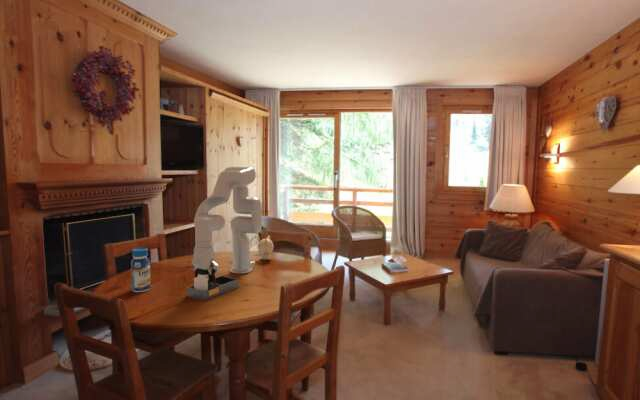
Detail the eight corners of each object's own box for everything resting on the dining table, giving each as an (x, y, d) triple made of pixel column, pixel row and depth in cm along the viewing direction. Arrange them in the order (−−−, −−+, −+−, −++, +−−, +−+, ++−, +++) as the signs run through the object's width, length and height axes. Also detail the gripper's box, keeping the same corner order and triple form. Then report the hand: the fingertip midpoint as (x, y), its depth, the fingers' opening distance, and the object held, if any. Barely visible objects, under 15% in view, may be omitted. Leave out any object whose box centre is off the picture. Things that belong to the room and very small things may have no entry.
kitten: (261, 256, 245) (261, 234, 243) (276, 256, 244) (276, 234, 242) (255, 262, 230) (255, 238, 229) (270, 262, 229) (270, 238, 228)
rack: (222, 283, 188) (222, 275, 188) (238, 287, 182) (238, 279, 182) (186, 296, 169) (186, 287, 169) (204, 301, 163) (204, 292, 163)
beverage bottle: (141, 286, 183) (140, 246, 181) (154, 288, 180) (153, 248, 178) (127, 291, 175) (125, 250, 173) (141, 293, 172) (139, 251, 170)
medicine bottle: (208, 294, 167) (207, 268, 166) (194, 293, 169) (193, 267, 167) (215, 289, 174) (215, 264, 173) (202, 288, 176) (201, 263, 174)
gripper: (184, 243, 170) (185, 279, 172) (210, 247, 161) (211, 285, 163) (197, 240, 177) (198, 275, 178) (223, 244, 168) (224, 281, 169)
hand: (204, 280), depth 171 cm, fingers closed on medicine bottle, 8 cm apart
